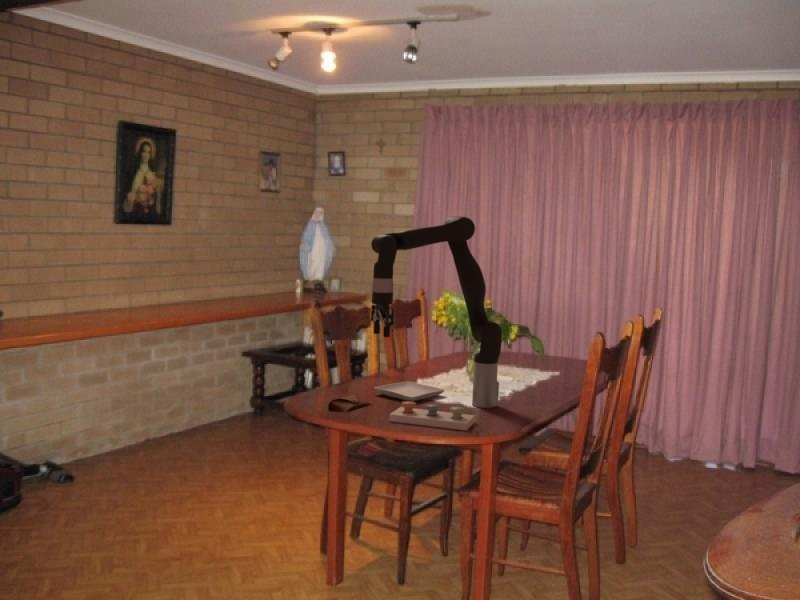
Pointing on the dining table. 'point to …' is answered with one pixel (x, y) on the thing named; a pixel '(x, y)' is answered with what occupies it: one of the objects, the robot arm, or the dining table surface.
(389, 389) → the salad plate
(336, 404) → the sunglasses case
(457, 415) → the sage button
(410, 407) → the terracotta button
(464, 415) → the button panel
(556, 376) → the dining table surface
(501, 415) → the dining table surface
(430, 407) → the slate button
